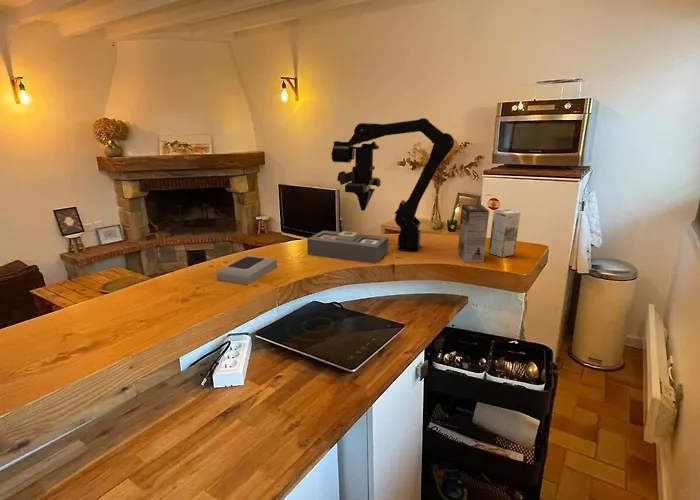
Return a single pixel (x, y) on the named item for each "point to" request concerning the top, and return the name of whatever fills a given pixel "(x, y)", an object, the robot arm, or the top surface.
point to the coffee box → (473, 233)
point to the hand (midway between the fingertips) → (363, 210)
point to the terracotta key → (328, 236)
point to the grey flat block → (246, 269)
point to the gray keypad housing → (348, 247)
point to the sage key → (348, 236)
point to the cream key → (369, 241)
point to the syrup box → (504, 232)
